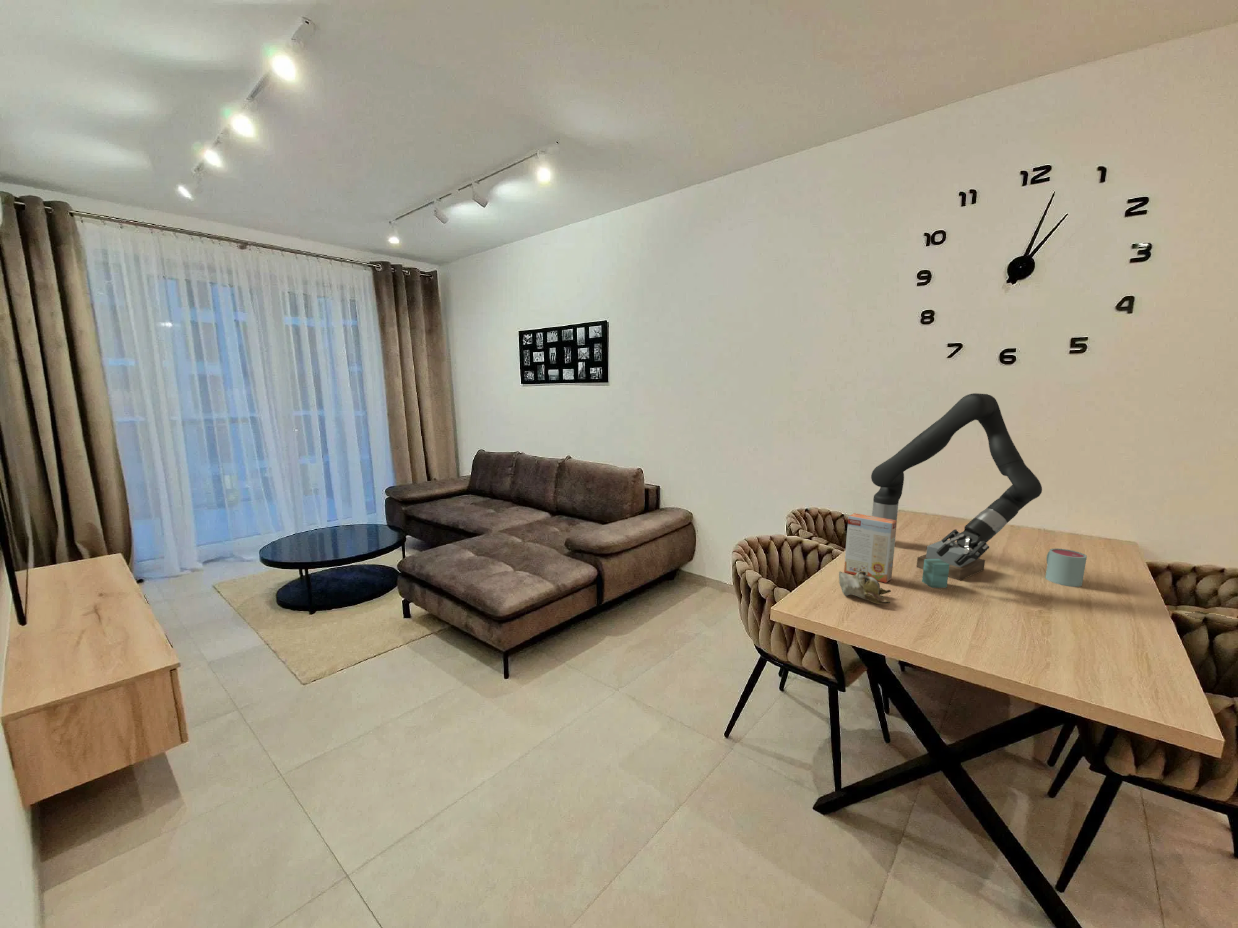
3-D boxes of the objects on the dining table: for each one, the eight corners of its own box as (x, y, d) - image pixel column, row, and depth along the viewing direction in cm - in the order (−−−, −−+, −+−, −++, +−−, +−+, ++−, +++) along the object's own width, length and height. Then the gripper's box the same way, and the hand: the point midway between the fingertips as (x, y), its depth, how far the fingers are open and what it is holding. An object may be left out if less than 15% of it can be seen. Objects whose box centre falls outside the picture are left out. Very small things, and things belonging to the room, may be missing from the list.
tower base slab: (916, 568, 177) (917, 557, 176) (941, 559, 186) (942, 548, 185) (958, 582, 165) (960, 569, 164) (983, 571, 174) (985, 560, 174)
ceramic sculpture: (841, 561, 158) (894, 572, 151) (837, 585, 160) (889, 598, 152) (837, 572, 149) (893, 585, 142) (833, 598, 151) (888, 612, 143)
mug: (1089, 587, 159) (1094, 558, 158) (1056, 585, 161) (1061, 556, 160) (1060, 572, 173) (1065, 545, 171) (1030, 570, 175) (1034, 543, 173)
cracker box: (892, 578, 166) (898, 519, 162) (886, 583, 162) (892, 523, 158) (849, 567, 176) (854, 511, 172) (843, 572, 172) (848, 515, 168)
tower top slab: (925, 557, 175) (927, 545, 175) (942, 550, 183) (944, 539, 182) (960, 567, 166) (962, 554, 166) (976, 559, 174) (978, 547, 174)
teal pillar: (921, 581, 164) (924, 558, 163) (936, 581, 164) (939, 558, 163) (931, 587, 159) (934, 564, 158) (946, 587, 159) (949, 564, 158)
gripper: (962, 511, 165) (926, 544, 167) (996, 523, 151) (955, 559, 153) (975, 526, 166) (939, 559, 168) (1010, 540, 152) (970, 575, 154)
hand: (947, 559), depth 160 cm, fingers open, 8 cm apart
